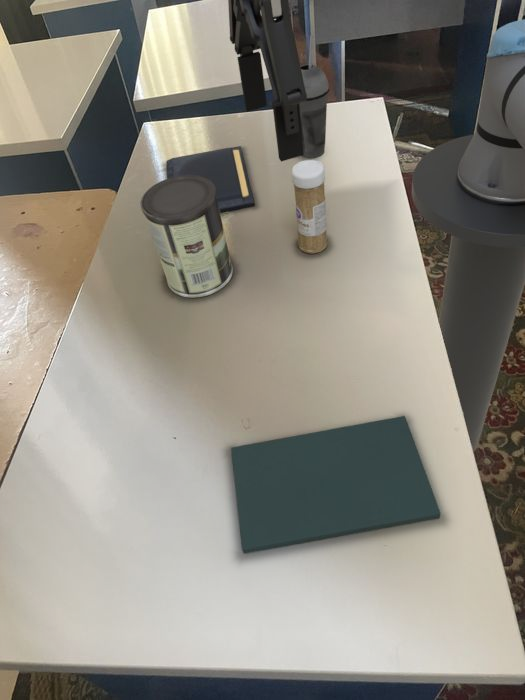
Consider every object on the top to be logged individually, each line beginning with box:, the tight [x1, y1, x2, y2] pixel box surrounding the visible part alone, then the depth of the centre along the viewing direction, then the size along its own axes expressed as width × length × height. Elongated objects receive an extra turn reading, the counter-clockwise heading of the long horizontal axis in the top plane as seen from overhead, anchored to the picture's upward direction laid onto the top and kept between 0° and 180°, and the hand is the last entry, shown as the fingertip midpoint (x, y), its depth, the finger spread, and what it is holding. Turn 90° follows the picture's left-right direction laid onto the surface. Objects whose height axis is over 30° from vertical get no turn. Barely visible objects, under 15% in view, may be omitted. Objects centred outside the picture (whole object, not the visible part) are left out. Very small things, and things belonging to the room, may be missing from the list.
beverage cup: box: [299, 34, 330, 160], centre depth 98 cm, size 7×7×20 cm
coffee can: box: [140, 175, 234, 299], centre depth 81 cm, size 10×10×14 cm
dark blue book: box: [165, 145, 255, 213], centre depth 102 cm, size 20×2×15 cm
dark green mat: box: [230, 415, 442, 554], centre depth 61 cm, size 20×12×1 cm, turn 98°
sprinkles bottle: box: [291, 159, 329, 254], centre depth 83 cm, size 5×5×13 cm
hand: (272, 131), depth 69 cm, fingers open, 13 cm apart
